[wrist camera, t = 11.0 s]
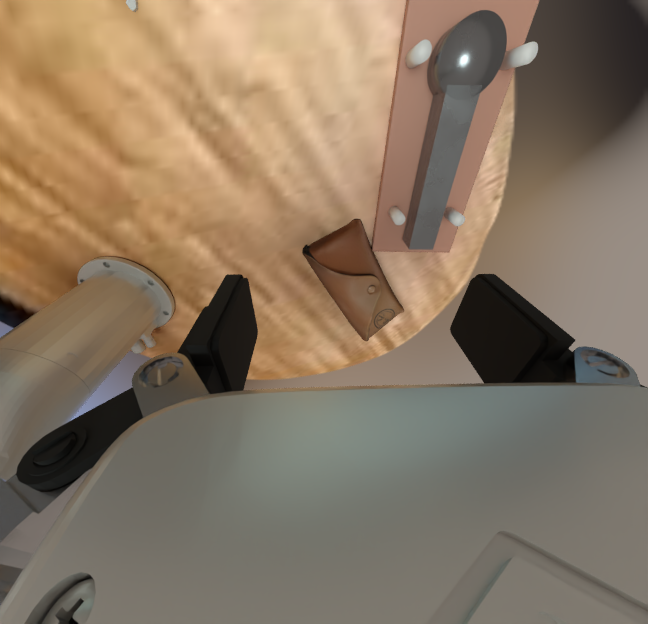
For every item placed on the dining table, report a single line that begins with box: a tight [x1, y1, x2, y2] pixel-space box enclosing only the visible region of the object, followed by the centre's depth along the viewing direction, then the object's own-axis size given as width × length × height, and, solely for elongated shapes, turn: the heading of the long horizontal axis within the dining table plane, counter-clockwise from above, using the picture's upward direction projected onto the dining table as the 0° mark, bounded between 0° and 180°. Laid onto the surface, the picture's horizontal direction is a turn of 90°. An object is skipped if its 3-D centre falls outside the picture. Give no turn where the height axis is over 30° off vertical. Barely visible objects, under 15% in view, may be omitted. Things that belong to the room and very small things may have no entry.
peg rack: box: [371, 0, 539, 252], centre depth 24 cm, size 22×10×4 cm, turn 179°
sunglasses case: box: [302, 219, 404, 341], centre depth 35 cm, size 18×7×7 cm, turn 32°
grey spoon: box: [403, 10, 507, 250], centre depth 24 cm, size 18×5×3 cm, turn 0°
